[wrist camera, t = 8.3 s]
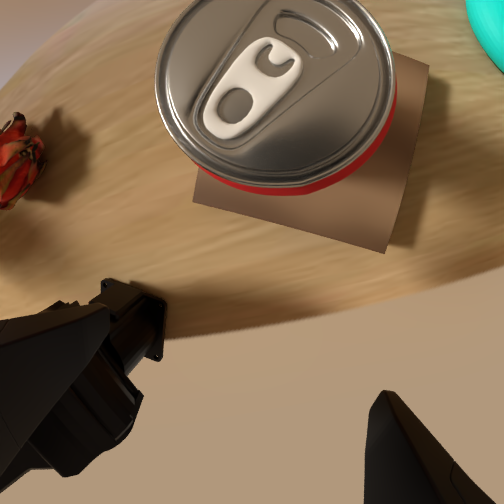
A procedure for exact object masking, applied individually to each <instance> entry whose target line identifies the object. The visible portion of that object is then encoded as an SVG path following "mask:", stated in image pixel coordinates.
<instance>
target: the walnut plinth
mask: <svg viewBox="0 0 504 504" xmlns="http://www.w3.org/2000/svg"><path fill="white" fill-rule="evenodd" d="M392 54H393V59H394V64H395V72H396V79H397V101H396V107H395V112H394V116H393V119H392V122H391V125H390V127H389V130H388V132H387V134H386V136H385V138H384V139H383V141H382V143H381V144H380V146H379V147H378V148H377V150H376V151H375V152H374V154H373V155H372V156H371V157H370V158H369V159H368V160H367V161H366V162H365V163H364V164H363V165H362V166H361V167H360V168H358V169H357V170H356V171H355V172H353V173H352V174H350V175H349V176H347V177H346V178H344V179H343V180H341V181H339V182H337V183H335V184H333V185H331V186H328V187H326V188H324V189H321V190H318V191H316V192H313V193H310V194H307V195H298V196H269V195H261V194H255V193H250V192H246V191H243V190H239V189H236V188H234V187H231V186H229V185H227V184H224V183H222V182H220V181H219V180H217V179H215V178H213V177H212V176H210V175H209V174H207V173H206V172H205V171H203V170H202V169H201V168H200V167H199V169H198V174H197V180H196V185H195V191H194V196H193V202H194V203H198V204H202V205H206V206H210V207H214V208H218V209H222V210H226V211H230V212H234V213H238V214H242V215H246V216H250V217H254V218H258V219H261V220H265V221H269V222H273V223H276V224H280V225H284V226H288V227H291V228H295V229H299V230H302V231H306V232H310V233H313V234H317V235H320V236H324V237H327V238H331V239H335V240H338V241H342V242H345V243H348V244H352V245H355V246H359V247H362V248H366V249H369V250H372V251H376V252H379V253H383V254H385V251H386V249H387V246H388V243H389V240H390V236H391V233H392V230H393V227H394V224H395V221H396V217H397V214H398V211H399V207H400V204H401V200H402V197H403V193H404V190H405V186H406V182H407V178H408V174H409V170H410V166H411V162H412V158H413V154H414V150H415V145H416V140H417V136H418V131H419V126H420V121H421V116H422V110H423V105H424V99H425V93H426V86H427V79H428V72H429V65H427V64H424V63H422V62H419V61H417V60H414V59H412V58H409V57H407V56H404V55H401V54H398V53H395V52H393V51H392Z"/></svg>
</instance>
